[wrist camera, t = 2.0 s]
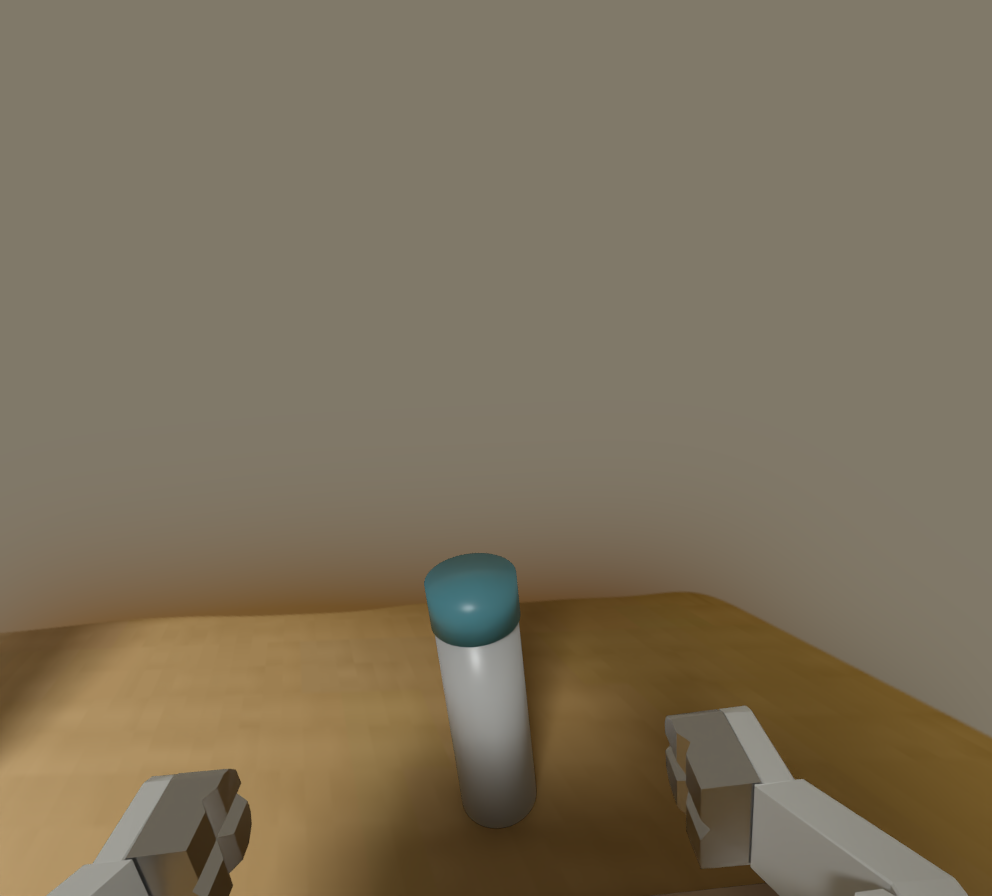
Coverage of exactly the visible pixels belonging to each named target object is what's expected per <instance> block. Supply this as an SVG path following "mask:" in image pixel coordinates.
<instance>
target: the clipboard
mask: <svg viewBox="0 0 992 896" xmlns="http://www.w3.org/2000/svg"><path fill="white" fill-rule="evenodd" d="M652 896H779V895H778V894H777V893H776V892H775V891H774V890H773V889H772V888H771V887H770V886H769V885H768V884H767V883H761V884H752V885H743V886H734V887H725V888H716V889H707V890H698V891H688V892H679V893H670V894H661V895H652Z"/></svg>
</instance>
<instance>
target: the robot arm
mask: <svg viewBox="0 0 992 896" xmlns="http://www.w3.org/2000/svg"><path fill="white" fill-rule="evenodd" d="M665 733H666V736H667V738H668V741H669V743H670V746H669V747H668V748H667V750H666V766H667V772H668V778H669V783H670V786H671V790H672V793H673V796H674V799H675V802H676V804H677V807H678V808H679V809H680V810H681V811H683V812H684V813H685V814H686V832H687V834H688V837H689V839H690V842H691V845H692V847H693V850H694V853H695V855H696V858H697V860H698V863H699V866H700V868H701V869H706V868H717V867H728V866H740V865H751V868H752V869H753V870H754V871H755V872H756V873H757V874H758V875H759V876H760V877H761V878H762V879H763V880H764V881H765V882H766V883H767V884H768V885H769V886H770V887H771V888H772V889H773V890H774V891H775V892H776V893H777V894H778V895H779V896H968V895H967V893H966V892H965V891H964V890H963V888H962V887H961V886H960V884H959V883H958V882H957V880H956V879H955V878H954V877H952V876H951V875H949V874H948V873H946V872H944V871H943V870H941V869H940V868H938V867H937V866H935V865H934V864H932V863H931V862H929V861H928V860H926V859H925V858H923V857H922V856H920V855H918V854H917V853H915V852H914V851H912V850H911V849H909V848H908V847H906V846H905V845H903V844H902V843H900V842H899V841H897V840H896V839H894V838H893V837H891V836H889V835H888V834H886V833H885V832H883V831H882V830H880V829H879V828H877V827H876V826H874V825H873V824H871V823H870V822H868V821H867V820H865V819H863V818H862V817H860V816H859V815H857V814H856V813H854V812H853V811H851V810H850V809H848V808H847V807H845V806H844V805H842V804H841V803H839V802H837V801H836V800H834V799H833V798H831V797H830V796H828V795H827V794H825V793H824V792H822V791H821V790H819V789H818V788H816V787H815V786H813V785H811V784H810V783H808V782H807V781H805V780H804V779H797V780H794V778H793V776H792V775H791V773H790V772H789V770H788V768H787V767H786V765H785V764H784V762H783V760H782V759H781V757H780V756H779V754H778V752H777V751H776V749H775V747H774V746H773V744H772V743H771V741H770V739H769V738H768V736H767V735H766V733H765V731H764V730H763V728H762V727H761V725H760V723H759V722H758V720H757V719H756V717H755V715H754V714H753V712H752V711H751V709H750V708H748V707H747V706H739V707H731V708H724V709H719V710H717V709H716V710H708V711H700V712H693V713H685V714H677V715H670V716H666V720H665ZM240 785H241V781H240V779H239V776H238V774H237V771H236V770H234V769H222V770H211V771H200V772H189V773H179V774H173V775H163V776H152V777H151V778H150V779H148V780H147V781H146V782H144V783H143V785H142V786H141V788H140V789H139V791H138V793H137V794H136V796H135V797H134V799H133V801H132V802H131V804H130V805H129V807H128V808H127V810H126V812H125V813H124V815H123V816H122V818H121V820H120V821H119V823H118V824H117V826H116V827H115V829H114V831H113V832H112V834H111V835H110V837H109V838H108V840H107V842H106V843H105V845H104V846H103V848H102V850H101V851H100V853H99V854H98V856H97V857H96V859H95V861H94V862H93V864H88V865H83V866H82V867H81V868H80V869H78V870H77V871H76V872H75V873H74V874H72V875H71V876H70V877H69V878H67V879H66V880H65V881H64V882H62V883H61V884H60V885H59V886H58V887H56V888H55V889H54V890H53V891H51V892H50V893H49V894H48V895H47V896H229V894H230V892H231V889H232V887H233V884H232V881H231V877H230V874H229V873H230V872H231V871H232V870H233V869H234V868H235V867H236V866H237V865H238V864H239V863H240V862H241V861H242V860H243V858H244V855H245V852H246V850H247V847H248V844H249V839H250V832H251V825H252V822H251V811H250V808H249V805H248V801H247V800H245V799H244V798H243V797H241V796H240V795H238V794H237V791H238V789H239V787H240Z"/></svg>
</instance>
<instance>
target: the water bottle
mask: <svg viewBox="0 0 992 896" xmlns="http://www.w3.org/2000/svg"><path fill="white" fill-rule="evenodd" d="M424 586H425V592H426V597H427V604H428V610H429V616H430V622H431V628H432V631H433V633H434V634H435V638H436V644H437V650H438V656H439V662H440V668H441V675H442V681H443V687H444V693H445V699H446V705H447V711H448V717H449V724H450V730H451V736H452V742H453V748H454V754H455V760H456V766H457V773H458V779H459V785H460V791H461V797H462V803H463V807H464V809H465V811H466V813H467V814H468V816H469V817H470V818H471V819H472V820H473V821H475V822H476V823H478V824H480V825H482V826H484V827H488V828H504V827H508V826H511V825H514V824H516V823H517V822H519V821H521V820H522V819H523V818H524V817H525V816H526V815H527V814H528V813H529V812H530V810H531V809H532V807H533V805H534V802H535V799H536V782H535V772H534V762H533V753H532V743H531V734H530V724H529V714H528V705H527V695H526V686H525V676H524V666H523V657H522V647H521V638H520V628H519V620H520V605H519V595H518V586H517V576H516V570H515V567H514V565H513V564H512V563H511V562H510V561H508V560H507V559H505V558H503V557H501V556H497V555H493V554H486V553H472V554H464V555H460V556H456V557H453V558H450V559H448V560H445V561H443V562H441V563H439V564H438V565H436V566H435V567H434V568H433V569H432V570H431V571H430V572H429V573H428V574H427V576H426V578H425V581H424Z"/></svg>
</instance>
